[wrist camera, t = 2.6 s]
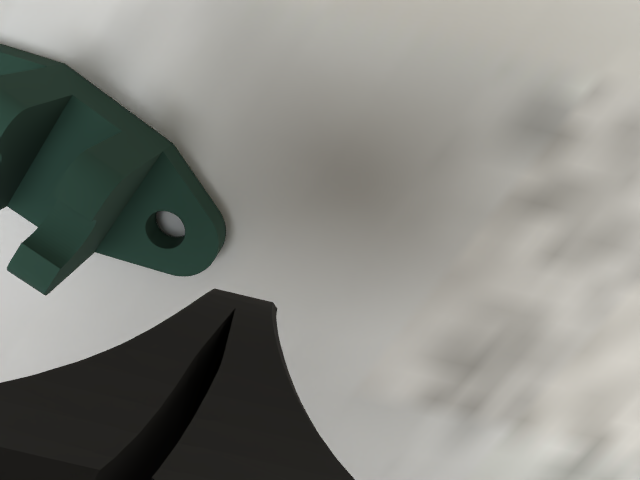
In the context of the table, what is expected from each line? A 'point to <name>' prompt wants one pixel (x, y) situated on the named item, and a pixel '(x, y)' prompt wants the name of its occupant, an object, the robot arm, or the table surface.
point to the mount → (92, 178)
